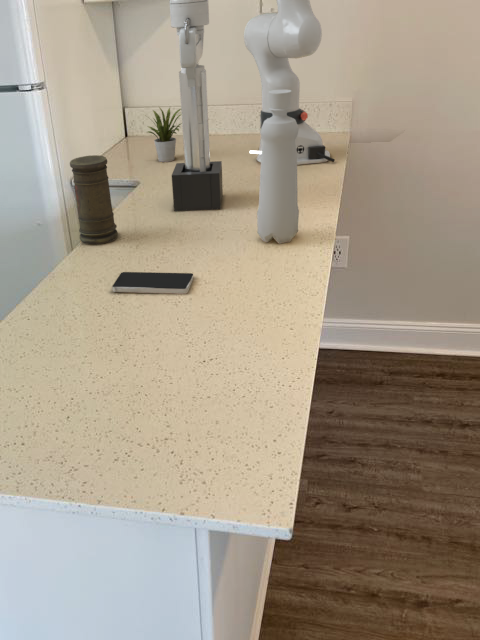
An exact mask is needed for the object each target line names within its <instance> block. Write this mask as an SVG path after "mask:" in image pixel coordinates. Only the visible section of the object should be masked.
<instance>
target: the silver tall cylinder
mask: <svg viewBox="0 0 480 640" xmlns="http://www.w3.org/2000/svg"><path fill="white" fill-rule="evenodd" d="M178 79H179V93H180V94H179V95H180V109H181V110H180V114H182V115H181V123H182V124H181V126H182V140H183V157H184V163H185V172H206V171H210V162H211V154H210V151H211V150H210V130H209V106H208V86H207V85H208V84H207V70H206V69H205V65H201V64H199V65H197V66H196V67H195V79H196V85H195V87H188V82H187V75H186V68H182V67H180V71H178Z"/></svg>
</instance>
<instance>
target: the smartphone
mask: <svg viewBox="0 0 480 640" xmlns="http://www.w3.org/2000/svg"><path fill="white" fill-rule="evenodd" d="M193 281H194V273H191V272H151V271H150V272H149V271H148V272H146V271H145V272H144V271H122V272H120V274H119V275H118V277H117V278H116V279H115V282H114V283H113V284H112V286H111V287H112V291H113V292H114V293H139V294H140V293H142V294H143V293H144V294H145V293H146V294H178V295H179V294H180V295H181V294H183V295H185V294H188V292H189V290H190V287H191V285H192V284H193Z"/></svg>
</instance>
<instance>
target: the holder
mask: <svg viewBox="0 0 480 640" xmlns="http://www.w3.org/2000/svg"><path fill="white" fill-rule="evenodd" d="M171 187H172V201H173V203H172V204H173V211H174V212H189V211H212V210H214V211H215V210H216V211H217V210H222V209H221V208H222V202H223V196H224V195H223V193H224V191H223V162H222V160H218V161H210V171H206V172H185V162H176V164H175V166H174V168H173V172H172V173H171Z"/></svg>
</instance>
